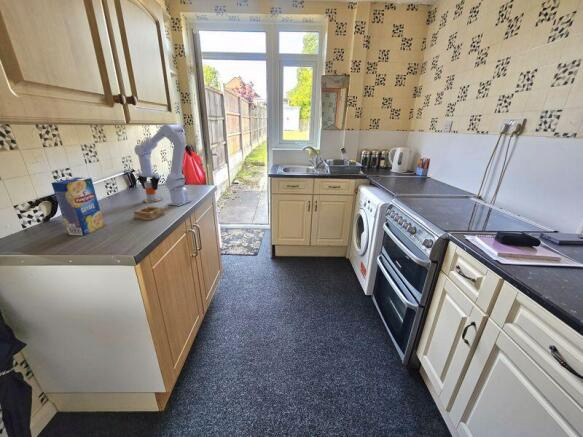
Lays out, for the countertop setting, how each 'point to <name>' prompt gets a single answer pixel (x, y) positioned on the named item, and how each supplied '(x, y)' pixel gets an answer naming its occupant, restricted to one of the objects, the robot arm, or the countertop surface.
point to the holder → (148, 213)
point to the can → (150, 191)
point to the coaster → (152, 201)
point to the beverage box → (78, 205)
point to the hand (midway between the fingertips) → (150, 189)
